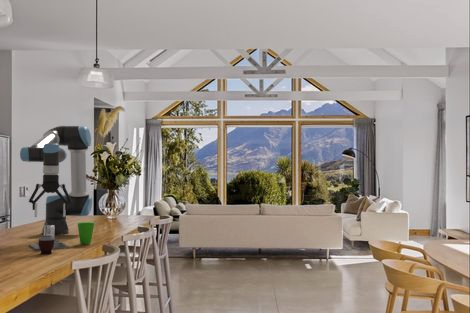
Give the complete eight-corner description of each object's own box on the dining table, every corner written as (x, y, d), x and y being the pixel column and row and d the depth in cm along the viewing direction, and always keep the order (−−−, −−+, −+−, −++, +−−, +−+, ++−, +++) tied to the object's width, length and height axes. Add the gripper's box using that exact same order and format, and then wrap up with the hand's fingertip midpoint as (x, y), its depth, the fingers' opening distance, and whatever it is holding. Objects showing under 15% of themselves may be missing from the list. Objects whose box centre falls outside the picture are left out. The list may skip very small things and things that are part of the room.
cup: (97, 243, 286) (98, 222, 286) (87, 245, 277) (88, 224, 277) (83, 242, 289) (83, 221, 289) (72, 244, 280) (73, 223, 280)
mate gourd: (47, 251, 256) (47, 220, 256) (58, 253, 252) (59, 221, 252) (34, 254, 249) (34, 221, 250) (45, 255, 245) (46, 222, 246)
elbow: (44, 245, 271) (44, 225, 272) (54, 245, 272) (55, 225, 273) (42, 247, 264) (42, 226, 264) (52, 247, 265) (53, 226, 265)
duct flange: (61, 244, 281) (61, 237, 281) (69, 248, 268) (69, 241, 268) (29, 246, 273) (29, 239, 273) (35, 250, 259) (36, 243, 259)
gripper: (23, 174, 265) (22, 217, 265) (76, 174, 270) (75, 217, 270) (25, 173, 272) (25, 215, 272) (77, 174, 277) (76, 215, 277)
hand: (50, 216), depth 271 cm, fingers open, 13 cm apart
